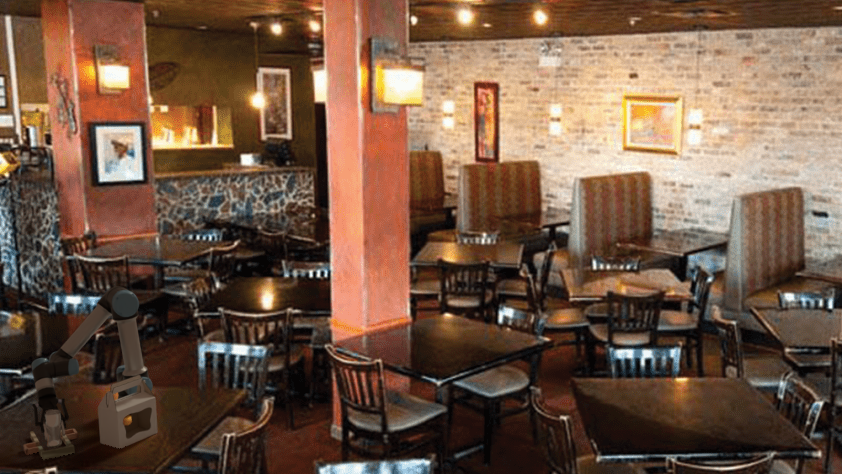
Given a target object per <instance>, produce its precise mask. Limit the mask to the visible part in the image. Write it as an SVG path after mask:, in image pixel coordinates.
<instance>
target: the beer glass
mask: <svg viewBox="0 0 842 474" xmlns="http://www.w3.org/2000/svg"><path fill="white" fill-rule="evenodd" d="M61 413H62V410H61V409H59V410H53V409H52V410H50V409H49V410H46V411H45V413H44V421H43V424H45V426H46V430H47V435H48V439H47V440H46V441H47V442H46V447H48V448H59V447H60V446H61V445H62V444H63V441H62V439H61V427H62V418H61Z"/></svg>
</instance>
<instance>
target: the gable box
mask: <svg viewBox="0 0 842 474" xmlns="http://www.w3.org/2000/svg"><path fill="white" fill-rule="evenodd" d="M134 386H138V387H137V392H136V393H133V394H130V395H128V396H125V397H122V398H119V399H118V398H116V399H115V396H114V395H115V394H118V392H120V391H123V390H126V389H129V388H132V387H134ZM144 391H145V392H144ZM156 399H157V398H156V396H155V395H154V393H153V391H151V390H150V389H149V387H148V386H147V385H146V383H145V380H142V378H141V376H140V375H137V376H134V377H131V378H128V379H125V380H122V381H120V382H117V381H116V382H114V383H112V384H110V387H109V390H108V391H106V393H105V395H104V396H103V397H102V399H101V401H100V402H99V404H98V406H97V415H98V427H99V442H100V444H102V445H105V444H106V446H108V445H109V446H108V447H111V446H112V448H115V447H116V448H115V449H118V448H119V449H118V450H120V448H121V449H123V448H125V446H126V447H128V446H130V445H133V444H135V443H137V442H139V441H142V440H144V439H147V438H149V437H151V436H153V435H156V434H158V418H157V402H156V401H157V400H156ZM127 416H130V418H131V422H130V423H129V424H128V425H125V424H124V419H125V417H127Z"/></svg>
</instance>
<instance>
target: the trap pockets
mask: <svg viewBox="0 0 842 474" xmlns="http://www.w3.org/2000/svg"><path fill="white" fill-rule="evenodd" d="M65 435H66V436H67V437H68V439H69V441H71V440H77V439H78V438H79V433H78V431H77V430H76V428H75V427H73V428H68V429H65ZM61 441H62V442H63V439H62V436H61ZM22 447H23V448H22V449H23V452H24V454H25V455H26V456H30V455H34V454H33V453H35V454H38V453H37V452H39V451H38V447H36V442H33V441H32V442H29V443H28V442H27V443H25V444H22ZM29 454H30V455H29Z"/></svg>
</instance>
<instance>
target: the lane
mask: <svg viewBox="0 0 842 474" xmlns="http://www.w3.org/2000/svg"><path fill="white" fill-rule="evenodd" d="M61 436H62V439H63V441H62V443H64V445H65V446H61V447H55V448H52V449H48V450H47V449H46V450H45V449H44V448H43V446H42V445H40V441H39V439H38V437H37V435H36V434H35V432H34V431H30V432H29V438H30V439H31V442H32V443H33V442H36V447H38V451H39V453H38V454H39V456H40V458H41V457H42V458H41V459H43V460H42V461H46V460H45V459H47V460H50V459H49V458H52V459H55V457H56V458H60V456H61V457H64V456H63V455H65V456H68V454H70V455H73V454H72V453H74V454H75V453H76V451H75V444H72V442H71V440H69V439H68V437H67V436H66V435H65V436H63V435H62V430H61ZM62 439H61V440H62Z"/></svg>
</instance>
